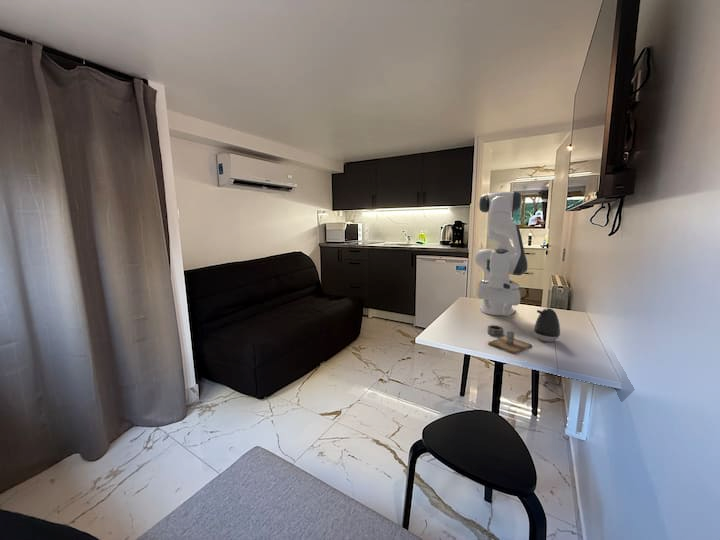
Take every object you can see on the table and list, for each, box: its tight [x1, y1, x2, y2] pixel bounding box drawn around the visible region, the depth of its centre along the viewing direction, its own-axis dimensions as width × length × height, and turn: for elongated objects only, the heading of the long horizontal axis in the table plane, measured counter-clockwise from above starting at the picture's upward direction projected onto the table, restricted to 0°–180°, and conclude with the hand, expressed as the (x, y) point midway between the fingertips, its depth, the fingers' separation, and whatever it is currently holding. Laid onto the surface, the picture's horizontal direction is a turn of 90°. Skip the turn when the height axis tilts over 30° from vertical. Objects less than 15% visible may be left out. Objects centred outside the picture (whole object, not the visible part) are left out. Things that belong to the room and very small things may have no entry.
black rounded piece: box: [533, 308, 561, 343], centre depth 136 cm, size 10×10×15 cm
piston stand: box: [488, 331, 533, 355], centre depth 131 cm, size 14×12×6 cm
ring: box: [487, 324, 504, 337], centre depth 146 cm, size 7×7×3 cm
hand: (496, 310), depth 144 cm, fingers open, 8 cm apart
